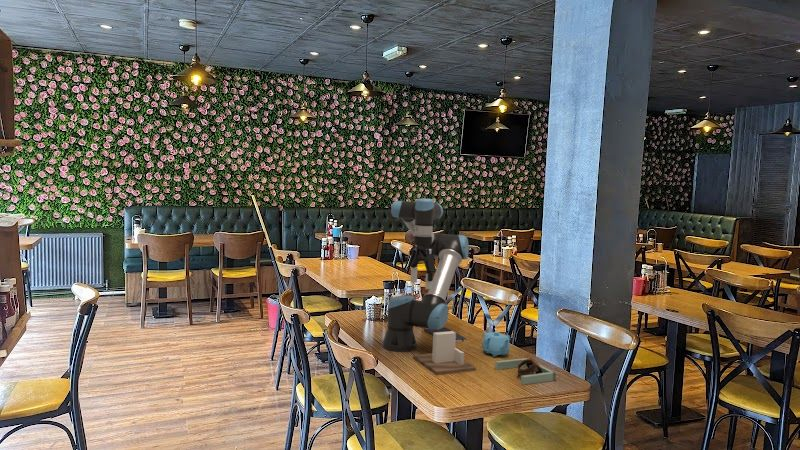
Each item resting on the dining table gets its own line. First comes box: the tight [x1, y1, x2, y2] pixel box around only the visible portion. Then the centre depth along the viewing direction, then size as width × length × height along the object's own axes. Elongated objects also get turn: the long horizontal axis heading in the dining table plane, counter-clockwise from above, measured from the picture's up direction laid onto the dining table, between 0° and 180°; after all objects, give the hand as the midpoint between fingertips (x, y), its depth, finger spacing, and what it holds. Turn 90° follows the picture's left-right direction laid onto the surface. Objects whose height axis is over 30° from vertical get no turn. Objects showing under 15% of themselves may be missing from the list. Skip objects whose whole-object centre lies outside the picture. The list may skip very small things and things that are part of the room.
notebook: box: [423, 326, 467, 343], centre depth 277 cm, size 13×2×21 cm
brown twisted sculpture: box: [517, 358, 542, 377], centre depth 224 cm, size 12×10×8 cm
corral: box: [494, 357, 557, 386], centre depth 226 cm, size 19×16×3 cm
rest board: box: [412, 352, 477, 376], centre depth 235 cm, size 22×18×1 cm
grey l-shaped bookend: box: [431, 330, 465, 365], centre depth 235 cm, size 13×10×12 cm
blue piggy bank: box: [481, 331, 511, 358], centre depth 251 cm, size 18×14×10 cm
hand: (420, 285), depth 237 cm, fingers open, 13 cm apart
